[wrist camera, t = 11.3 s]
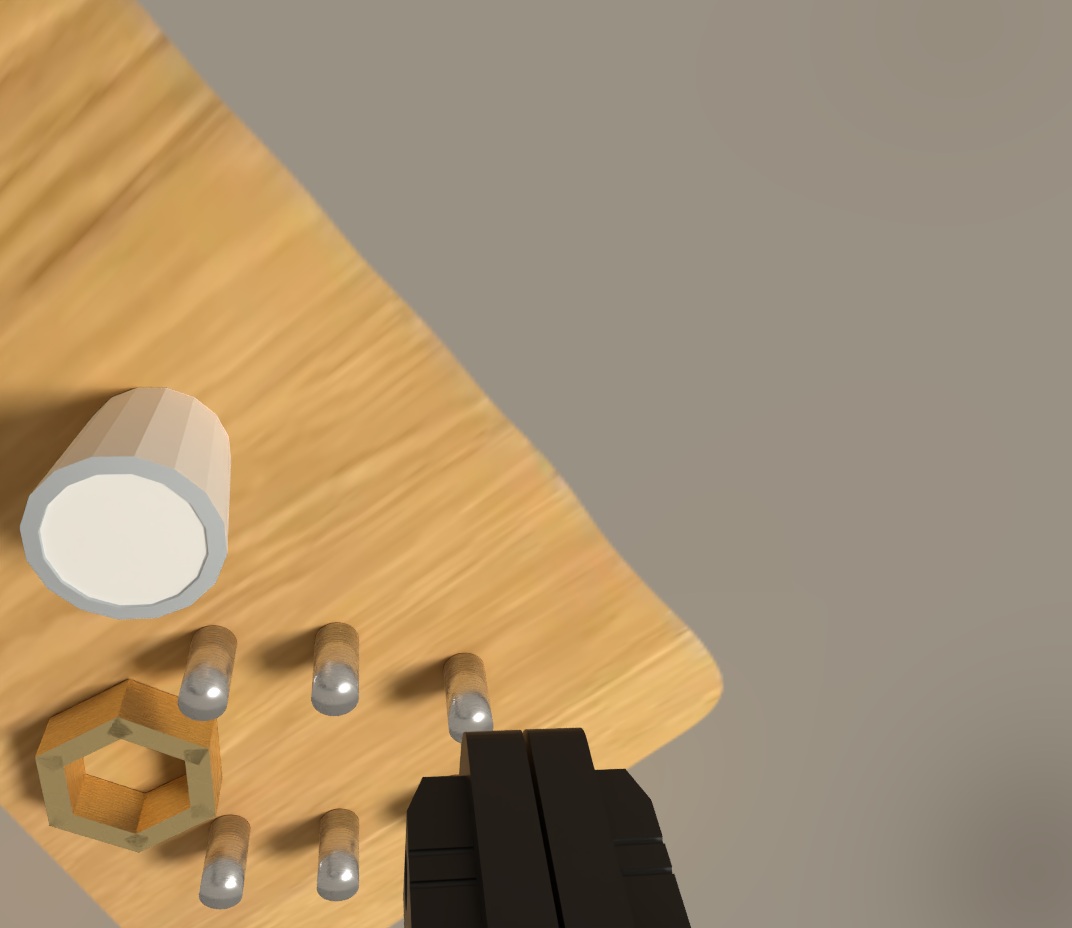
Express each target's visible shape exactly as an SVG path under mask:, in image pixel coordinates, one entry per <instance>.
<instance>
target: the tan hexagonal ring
mask: <svg viewBox="0 0 1072 928" xmlns="http://www.w3.org/2000/svg"><path fill="white" fill-rule="evenodd" d="M119 739H123V740H126V741H129V742H132V743H135V744H138V745H141V746H144V747H147V748H150V749H152V750H155V751H158V752H161V753H164V754H167V755H170V756H173V757H176V758H179V759H182V760H185V765H186V774H185V775H183V776H181V777H179V778H177V779H175V780H173V781H171V782H169V783H167V784H165V785H163V786H160V787H158V788H156V789H154V790H152V791H150V792H148V793H146V794H145V793H142V792H139V791H136V790H133V789H130V788H127V787H124V786H121V785H118V784H115V783H112V782H108V781H105V780H102V779H99V778H96V777H93V776H90V775H87V774H86V773H85V767H84V762H83V757H84V756H86V755H88V754H90V753H93V752H95V751H97V750H99V749H101V748H103V747H105V746H107V745H109V744H111V743H113V742H115V741H117V740H119ZM35 760H36V764H37V769H38V774H39V779H40V783H41V788H42V793H43V797H44V802H45V807H46V811H47V816H48V821H49V826H52V827H55V828H59V829H62V830H65V831H69V832H72V833H75V834H79V835H82V836H85V837H89V838H92V839H95V840H99V841H102V842H105V843H108V844H112V845H115V846H118V847H122V848H125V849H128V850H132V851H135V852H138V853H139V852H141V851H143V850H145V849H147V848H150V847H152V846H154V845H156V844H158V843H160V842H162V841H164V840H166V839H169V838H171V837H173V836H175V835H177V834H179V833H181V832H183V831H185V830H188V829H190V828H192V827H194V826H196V825H198V824H200V823H202V822H204V821H207V820H209V819H211V818H213V817H215V816H216V814H217V808H218V801H219V795H220V789H221V783H222V769H221V758H220V748H219V738H218V727H217V718H216V719H213V720H209V721H196V720H193V719H190V718H188V717H186V716H185V715H184V714H183V713H182V712H181V711H180V710H179V707H178V697H176V696H174V695H171V694H168V693H166V692H163V691H160V690H157V689H155V688H152V687H149V686H146V685H144V684H141V683H138V682H135V681H133V680H130V679H128V680H126V681H124V682H122V683H120V684H118V685H116V686H114V687H112V688H110V689H108V690H106V691H104V692H102V693H100V694H98V695H96V696H94V697H92V698H89V699H87V700H85V701H83V702H81V703H79V704H77V705H75V706H73V707H71V708H69V709H67V710H65V711H63V712H61V713H59V714H57V715H55V716H53V717H51V718H50V719H49V722H48V724H47V727H46V729H45V732H44V735H43V737H42V740H41V742H40V745H39V748H38V750H37V753H36V755H35Z"/></svg>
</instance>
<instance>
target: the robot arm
mask: <svg viewBox="0 0 1072 928" xmlns="http://www.w3.org/2000/svg"><path fill="white" fill-rule="evenodd" d="M403 901H404V928H691V926H690V923H689V920H688V916H687V913H686V910H685V907H684V904H683V900H682V897H681V894H680V891H679V888H678V884H677V881H676V878H675V875H674V874H672V865H671V862H670V859H669V856H668V852H667V849H666V846H665V844H663V841H662V833H661V830H660V827H659V823H658V820H657V817H656V814H655V811H654V808H653V804H652V801H651V799H650V798H649V797H648V795H647V794H646V793H645V792H644V791H643V790H642V788H641V787H640V786H639V785H638V784H637V783H636V781H635V780H634V779H633V778H632V776H631V775H630V774H629V773H628V772H627V770H626V769H607V770H595V769H594V766H593V762H592V758H591V754H590V750H589V746H588V742H587V738H586V735H585V733H584V731H583V729H582V728H556V729H526V730H524V731H523V733H522V731H521V730H504V731H473V732H463V735H462V743H461V756H460V770H459V776H439V777H423V778H422V780H421V782H420V784H419V786H418V789H417V791H416V793H415V795H414V797H413V799H412V801H411V803H410V806H409V808H408V810H407V819H406V844H405V868H404V893H403Z"/></svg>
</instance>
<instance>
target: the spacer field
mask: <svg viewBox="0 0 1072 928" xmlns="http://www.w3.org/2000/svg"><path fill="white" fill-rule="evenodd" d="M236 649H237V640H236V637H235V635H234V634H233V633H232V632H231V631H230V630H228V629H226V628H224V627H220V626H207V627H204V628H201V629H200V630H198V631H197V632H196V633H195V634H194V636H193V638H192V641H191V646H190V650H189V654H188V659H187V663H186V667H185V672H184V676H183V680H182V684H181V689H180V693H179V697H178V707H179V710H180V711H181V712H182V713H183V714H184V715H185V716H186V717H188V718H190V719H193V720H196V721H209V720H213V719H216V718H218V717H219V716H221V715H222V714H223V713H224V711H225V710H226V707H227V701H228V696H229V690H230V684H231V678H232V672H233V666H234V660H235V654H236ZM443 676H444V686H445V696H446V706H447V715H448V725H449V733H450V735H451V737H452V738H453V739H454V740H456V741H457V742H460V743H462V735H463V732H473V731H492V730H493V720H492V714H491V707H490V701H489V694H488V688H487V682H486V675H485V669H484V664H483V662H482V660H481V659H480V658H479V657H478V656H476V655H474V654H470V653H461V654H457V655H454V656H453V657H451V658H450V659H448V660H447V662H446V663H445V665H444V667H443ZM358 698H359V636H358V633H357V632H356V630H355V629H354V628H353V627H351V626H349V625H347V624H344V623H331V624H328V625H326V626H324V627H322V628H321V629H320V630H319V631H318V633H317V635H316V638H315V651H314V666H313V682H312V697H311V701H312V704H313V706H314V708H315V709H316V710H317V711H319V712H320V713H322V714H325V715H329V716H340V715H344V714H346V713H348V712H350V711H351V710H353V709H354V708H355V706H356V705H357V703H358ZM453 776H459V775H453ZM249 837H250V824H249V823H248V821H247V820H245V819H244V818H242V817H240V816H236V815H226V816H222V817H219V818H217V819H216V820H214V821H213V823H212V824H211V826H210V832H209V838H208V844H207V850H206V856H205V862H204V868H203V874H202V880H201V886H200V892H199V898H200V901H201V902H202V903H203V904H204V905H206V906H207V907H210V908H213V909H227V908H230V907H233V906H235V905H236V904H238V903H239V902H240V900H241V899H242V895H243V887H244V879H245V870H246V862H247V854H248V846H249ZM358 888H359V819H358V816H357V815H356V814H355V813H353V812H352V811H349V810H346V809H336V810H332V811H330V812H328V813H326V814H325V815H324V816H323V817H322V818H321V821H320V835H319V856H318V877H317V891H318V894H319V895H320V896H321V897H322V898H324V899H326V900H330V901H342V900H346V899H349V898H351V897H352V896H353V895H355V894H356V892H357V891H358Z"/></svg>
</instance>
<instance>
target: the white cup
mask: <svg viewBox="0 0 1072 928" xmlns="http://www.w3.org/2000/svg"><path fill="white" fill-rule="evenodd" d="M230 470H231V456H230V445H229V436H228V434H227V433H226V431H225V429H224V427H223V426H222V424H221V422H220V420H219V419H218V417H217V415H216V414H215V413H214V412H212V411H211V410H210V409H209V408H207V407H206V406H205V405H204V404H202V403H201V402H200V401H199V400H197V399H196V398H195V397H193V396H190V395H187V394H184V393H181V392H178V391H175V390H172V389H170V388H167V387H137V388H135V389H132V390H129V391H127V392H124V393H122V394H119V395H116V396H114V397H111V398H110V399H109V400H108V401H107V402H106V403H105V404H104V405H103V406H102V407H101V408H100V409H99V410H98V411H97V412H96V413H95V414H94V415H93V417H92V418H91V419H90V420H89V422H88V423H87V424H86V425H85V427H84V428H83V429H82V430H81V432H80V433H79V434H78V435H77V437H76V438H75V439H74V440H73V442H72V443H71V444H70V445H69V447H68V448H67V449H66V450H65V452H64V453H63V454H62V455H61V457H60V458H59V459H58V460H57V462H56V463H55V464H54V465H53V467H52V468H51V469H50V470H49V472H48V473H47V474H46V476H45V477H44V478H43V479H42V481H41V482H40V483H39V484H38V486H37V487H36V488H35V489H34V491H33V492H32V493H31V494H30V496H29V498H28V502H27V505H26V508H25V511H24V515H23V518H22V521H21V524H20V532H21V537H22V542H23V546H24V551H25V556H26V560H27V562H28V563H29V564H30V566H31V567H32V568H33V570H34V571H35V572H36V574H37V575H38V576H39V578H40V579H41V580H42V582H43V583H44V584H45V586H46V587H47V588H48V589H49V590H51V591H52V592H54V593H55V594H57V595H58V596H60V597H62V598H63V599H65V600H66V601H68V602H69V603H71V604H73V605H74V606H76V607H77V608H79V609H81V610H84V611H88V612H92V613H96V614H99V615H103V616H107V617H111V618H115V619H146V618H158V617H161V616H164V615H166V614H169V613H172V612H175V611H177V610H180V609H183V608H185V607H188V606H191V605H192V604H193V603H194V602H195V601H196V600H197V599H198V598H200V597H201V596H202V595H203V594H204V593H205V592H206V591H207V590H209V589H210V588H211V587H212V586H213V585H214V584H215V583H216V580H217V578H218V576H219V573H220V571H221V568H222V566H223V564H224V561H225V559H226V556H227V547H228V521H229V496H230Z"/></svg>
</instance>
